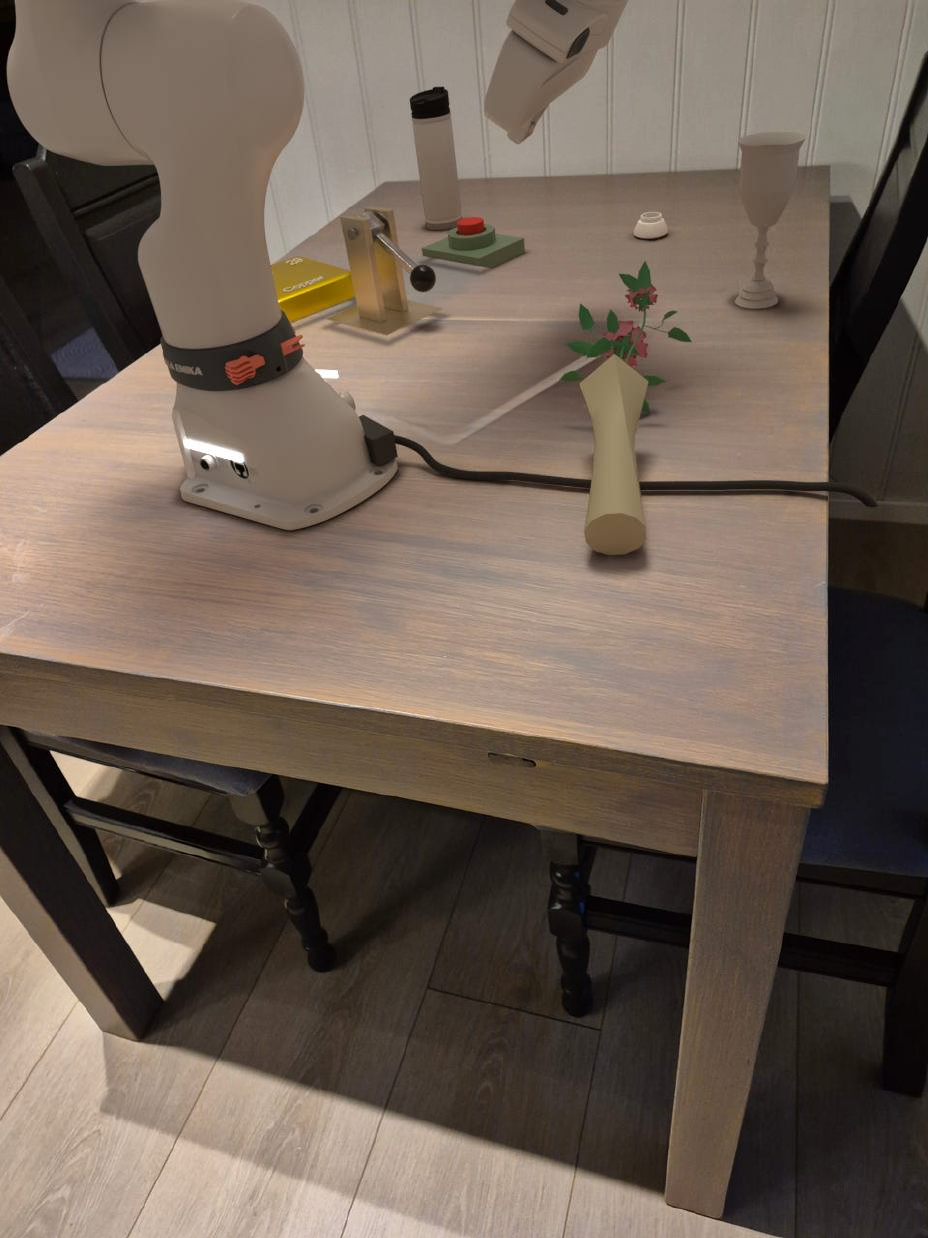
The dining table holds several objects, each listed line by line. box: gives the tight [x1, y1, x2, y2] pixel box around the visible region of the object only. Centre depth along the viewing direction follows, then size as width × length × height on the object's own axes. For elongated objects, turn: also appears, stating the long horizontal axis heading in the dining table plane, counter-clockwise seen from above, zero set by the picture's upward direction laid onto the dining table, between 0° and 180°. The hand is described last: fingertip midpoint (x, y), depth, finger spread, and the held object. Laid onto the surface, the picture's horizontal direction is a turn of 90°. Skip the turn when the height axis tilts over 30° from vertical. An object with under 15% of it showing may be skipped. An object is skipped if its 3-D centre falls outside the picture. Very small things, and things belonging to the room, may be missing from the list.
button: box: [457, 216, 485, 236], centre depth 132 cm, size 4×4×2 cm
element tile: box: [271, 256, 355, 324], centre depth 125 cm, size 15×15×5 cm
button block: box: [421, 223, 526, 269], centre depth 134 cm, size 12×10×4 cm
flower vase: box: [558, 260, 693, 556], centre depth 82 cm, size 12×12×35 cm
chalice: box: [734, 131, 807, 310], centre depth 104 cm, size 7×7×18 cm
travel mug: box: [409, 86, 463, 232], centre depth 145 cm, size 6×7×20 cm
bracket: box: [326, 205, 443, 337], centre depth 114 cm, size 12×10×14 cm
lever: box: [356, 211, 437, 293], centre depth 110 cm, size 13×3×3 cm, turn 47°
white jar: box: [633, 211, 669, 240], centre depth 133 cm, size 5×3×5 cm
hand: (518, 136), depth 96 cm, fingers closed
